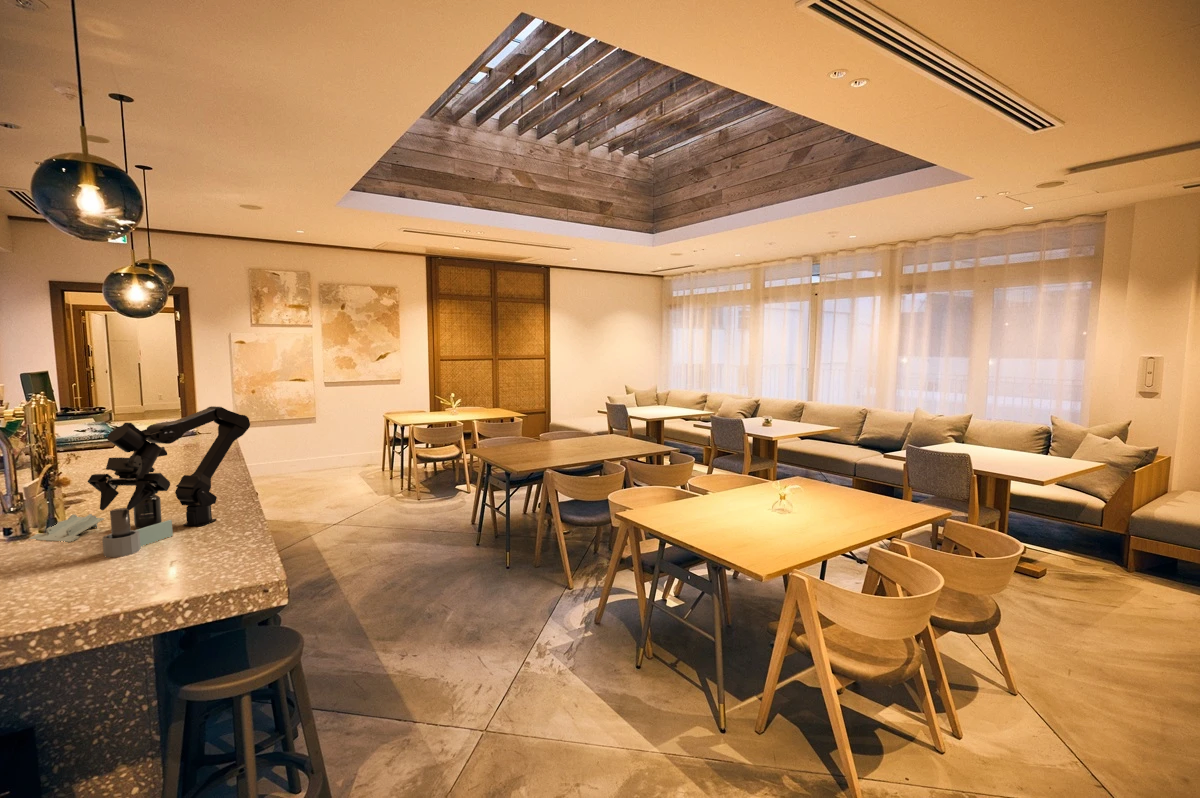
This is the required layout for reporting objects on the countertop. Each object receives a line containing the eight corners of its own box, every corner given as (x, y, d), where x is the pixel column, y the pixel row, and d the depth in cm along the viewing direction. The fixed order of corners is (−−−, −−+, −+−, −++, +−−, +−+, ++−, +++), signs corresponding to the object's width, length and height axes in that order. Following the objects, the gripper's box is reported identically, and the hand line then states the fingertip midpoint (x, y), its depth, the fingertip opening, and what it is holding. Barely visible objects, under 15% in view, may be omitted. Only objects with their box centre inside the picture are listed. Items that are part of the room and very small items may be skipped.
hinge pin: (122, 549, 159) (119, 507, 158) (136, 550, 158) (132, 508, 157) (109, 554, 155) (105, 511, 154) (122, 555, 154) (119, 512, 153)
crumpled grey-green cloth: (70, 510, 178) (110, 512, 176) (77, 525, 181) (117, 527, 178) (20, 536, 165) (62, 539, 163) (29, 553, 167) (70, 556, 165)
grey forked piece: (136, 535, 171) (134, 519, 170) (176, 536, 170) (175, 520, 169) (78, 556, 153) (76, 538, 153) (122, 557, 152) (121, 539, 152)
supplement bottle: (144, 529, 176) (141, 491, 175) (129, 527, 178) (126, 490, 177) (167, 523, 182) (164, 486, 181) (152, 521, 185) (149, 485, 184)
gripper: (90, 445, 157) (58, 495, 147) (159, 444, 158) (132, 493, 148) (115, 467, 166) (86, 515, 156) (181, 466, 167) (156, 514, 157)
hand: (114, 509), depth 154 cm, fingers open, 7 cm apart
